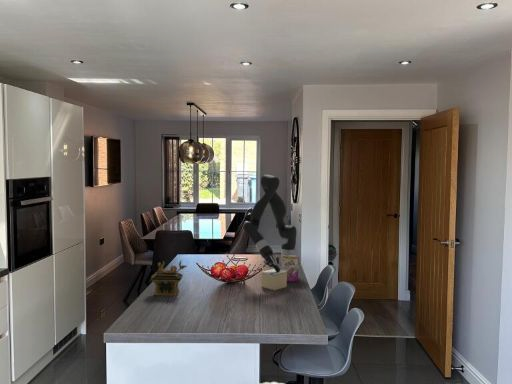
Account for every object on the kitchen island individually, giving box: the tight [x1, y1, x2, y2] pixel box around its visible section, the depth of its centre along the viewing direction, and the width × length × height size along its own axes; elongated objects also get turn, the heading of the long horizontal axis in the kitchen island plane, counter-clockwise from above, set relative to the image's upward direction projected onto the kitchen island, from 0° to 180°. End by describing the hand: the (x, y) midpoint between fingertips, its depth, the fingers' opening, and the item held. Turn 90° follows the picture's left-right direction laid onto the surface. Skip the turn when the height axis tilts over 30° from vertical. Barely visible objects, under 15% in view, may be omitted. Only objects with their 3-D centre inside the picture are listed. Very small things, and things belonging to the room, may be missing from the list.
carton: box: [261, 272, 288, 291], centre depth 287 cm, size 12×10×9 cm
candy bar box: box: [280, 254, 300, 283], centre depth 304 cm, size 11×5×16 cm, turn 84°
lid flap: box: [261, 268, 287, 275], centre depth 287 cm, size 12×10×1 cm
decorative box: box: [150, 260, 188, 297], centre depth 267 cm, size 20×10×20 cm, turn 91°
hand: (278, 271), depth 284 cm, fingers closed
